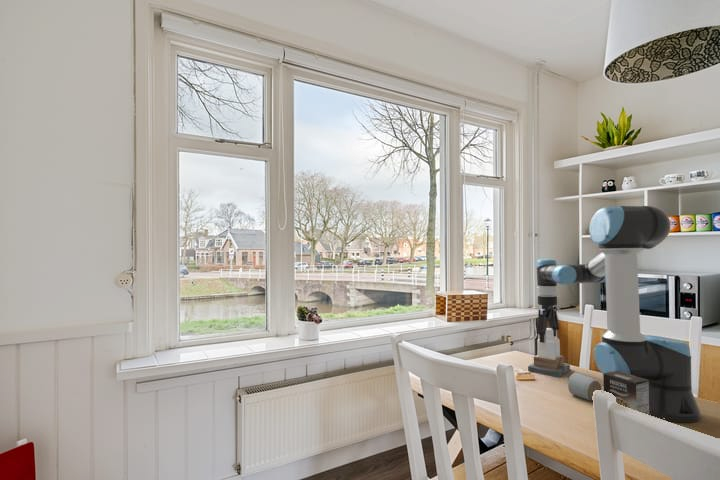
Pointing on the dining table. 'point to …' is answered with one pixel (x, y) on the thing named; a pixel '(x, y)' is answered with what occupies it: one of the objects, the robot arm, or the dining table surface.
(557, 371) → the pedestal stand
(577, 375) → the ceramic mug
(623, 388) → the coffee box
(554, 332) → the medicine bottle
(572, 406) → the dining table surface
